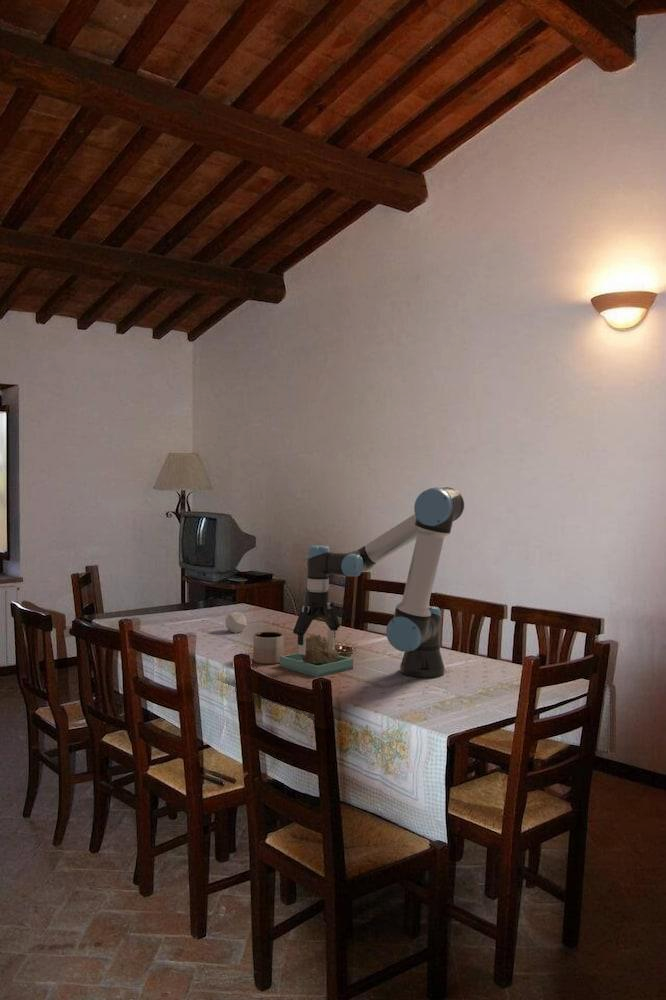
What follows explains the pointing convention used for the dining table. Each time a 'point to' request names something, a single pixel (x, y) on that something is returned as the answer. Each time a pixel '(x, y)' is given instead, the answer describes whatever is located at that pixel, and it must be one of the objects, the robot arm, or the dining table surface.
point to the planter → (268, 647)
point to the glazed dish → (298, 665)
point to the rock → (319, 651)
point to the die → (235, 622)
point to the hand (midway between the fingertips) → (316, 651)
